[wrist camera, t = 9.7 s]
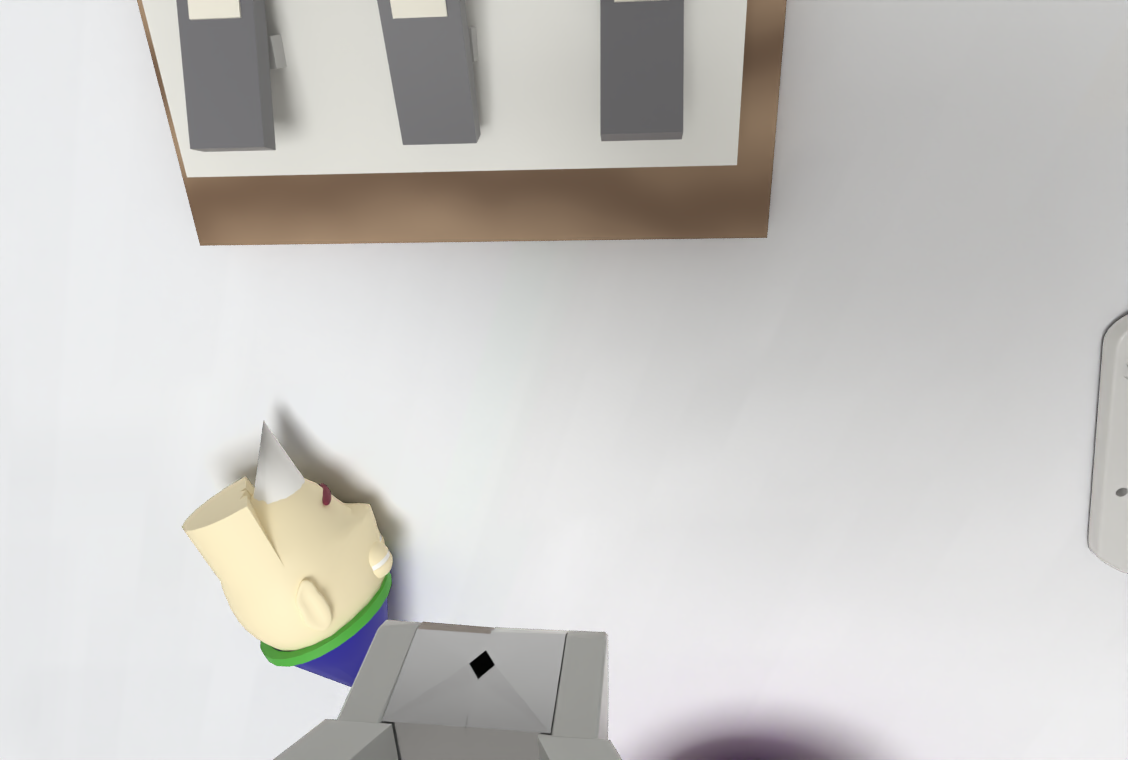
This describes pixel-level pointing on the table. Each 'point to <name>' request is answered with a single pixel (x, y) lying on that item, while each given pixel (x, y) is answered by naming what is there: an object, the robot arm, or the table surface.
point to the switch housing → (502, 82)
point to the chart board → (514, 187)
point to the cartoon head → (297, 565)
